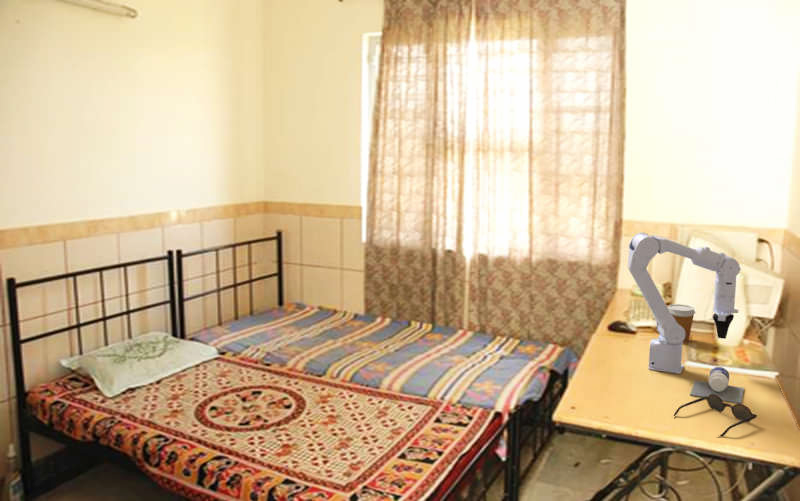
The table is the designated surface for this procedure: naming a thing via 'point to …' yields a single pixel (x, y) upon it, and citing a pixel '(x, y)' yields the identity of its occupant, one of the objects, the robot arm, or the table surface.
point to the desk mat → (727, 394)
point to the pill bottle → (718, 378)
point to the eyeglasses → (717, 404)
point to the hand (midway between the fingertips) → (721, 337)
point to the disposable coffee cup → (683, 317)
